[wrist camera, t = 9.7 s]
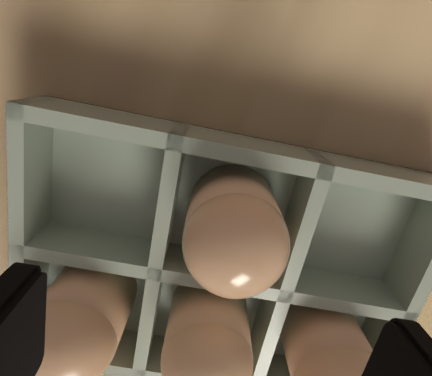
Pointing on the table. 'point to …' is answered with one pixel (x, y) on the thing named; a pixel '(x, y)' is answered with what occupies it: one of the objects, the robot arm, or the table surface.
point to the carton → (173, 256)
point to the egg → (234, 233)
